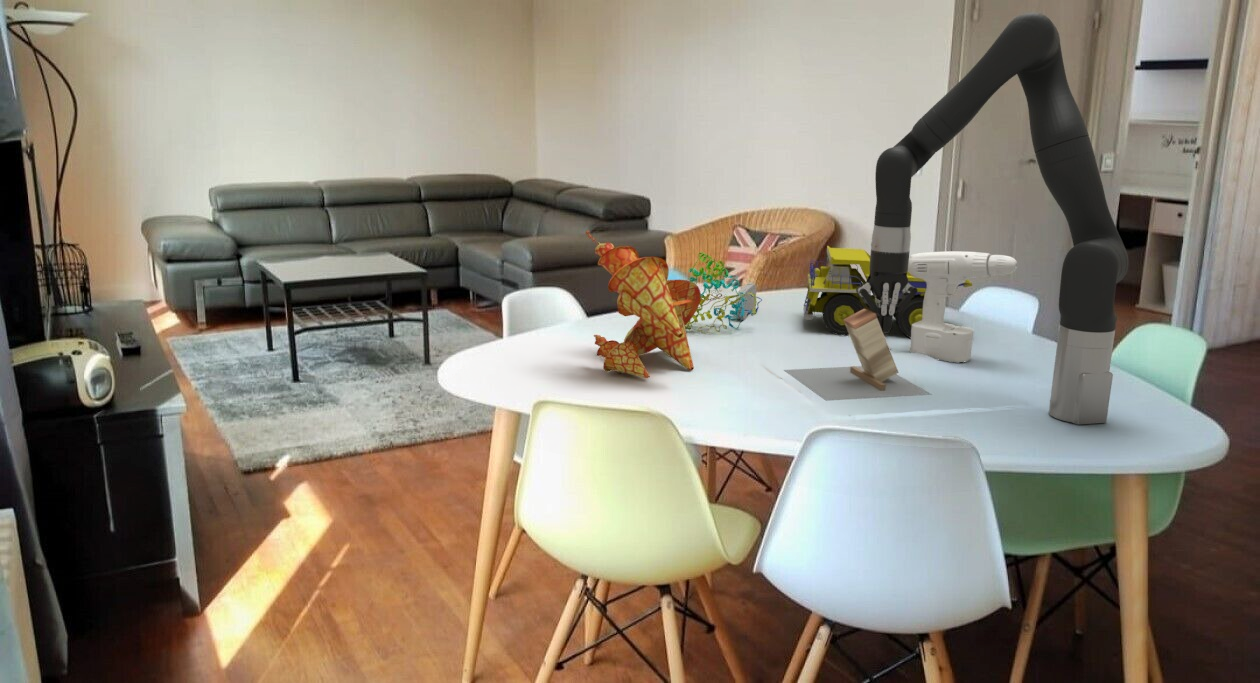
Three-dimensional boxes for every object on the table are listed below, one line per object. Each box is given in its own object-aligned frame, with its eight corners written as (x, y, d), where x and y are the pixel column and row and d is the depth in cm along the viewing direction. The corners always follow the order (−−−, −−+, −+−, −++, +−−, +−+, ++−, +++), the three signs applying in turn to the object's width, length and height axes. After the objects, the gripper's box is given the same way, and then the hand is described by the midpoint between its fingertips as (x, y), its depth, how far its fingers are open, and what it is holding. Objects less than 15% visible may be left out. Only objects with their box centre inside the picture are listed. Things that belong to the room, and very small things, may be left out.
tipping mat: (931, 399, 185) (932, 388, 184) (825, 405, 180) (826, 394, 180) (879, 369, 206) (880, 359, 205) (783, 374, 201) (783, 364, 200)
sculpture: (682, 316, 179) (588, 193, 193) (604, 408, 192) (521, 287, 207) (771, 315, 204) (682, 207, 219) (696, 397, 217) (617, 290, 232)
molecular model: (680, 254, 228) (693, 232, 241) (656, 326, 239) (670, 301, 252) (767, 287, 226) (776, 263, 239) (739, 358, 237) (748, 332, 250)
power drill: (999, 371, 205) (1011, 258, 199) (894, 353, 220) (902, 247, 214) (1011, 363, 212) (1023, 254, 206) (908, 346, 226) (917, 243, 220)
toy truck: (968, 342, 231) (976, 263, 227) (804, 335, 237) (808, 257, 233) (951, 322, 254) (958, 249, 249) (802, 315, 260) (806, 244, 255)
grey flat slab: (747, 308, 269) (749, 279, 267) (755, 309, 268) (757, 280, 266) (733, 322, 251) (734, 291, 249) (742, 322, 250) (743, 292, 248)
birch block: (898, 372, 192) (875, 313, 187) (877, 384, 191) (853, 325, 187) (887, 366, 196) (864, 308, 192) (866, 377, 196) (843, 319, 192)
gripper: (868, 251, 183) (861, 337, 187) (929, 250, 185) (922, 335, 189) (851, 246, 190) (845, 329, 194) (911, 245, 192) (904, 327, 197)
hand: (883, 332), depth 192 cm, fingers closed
